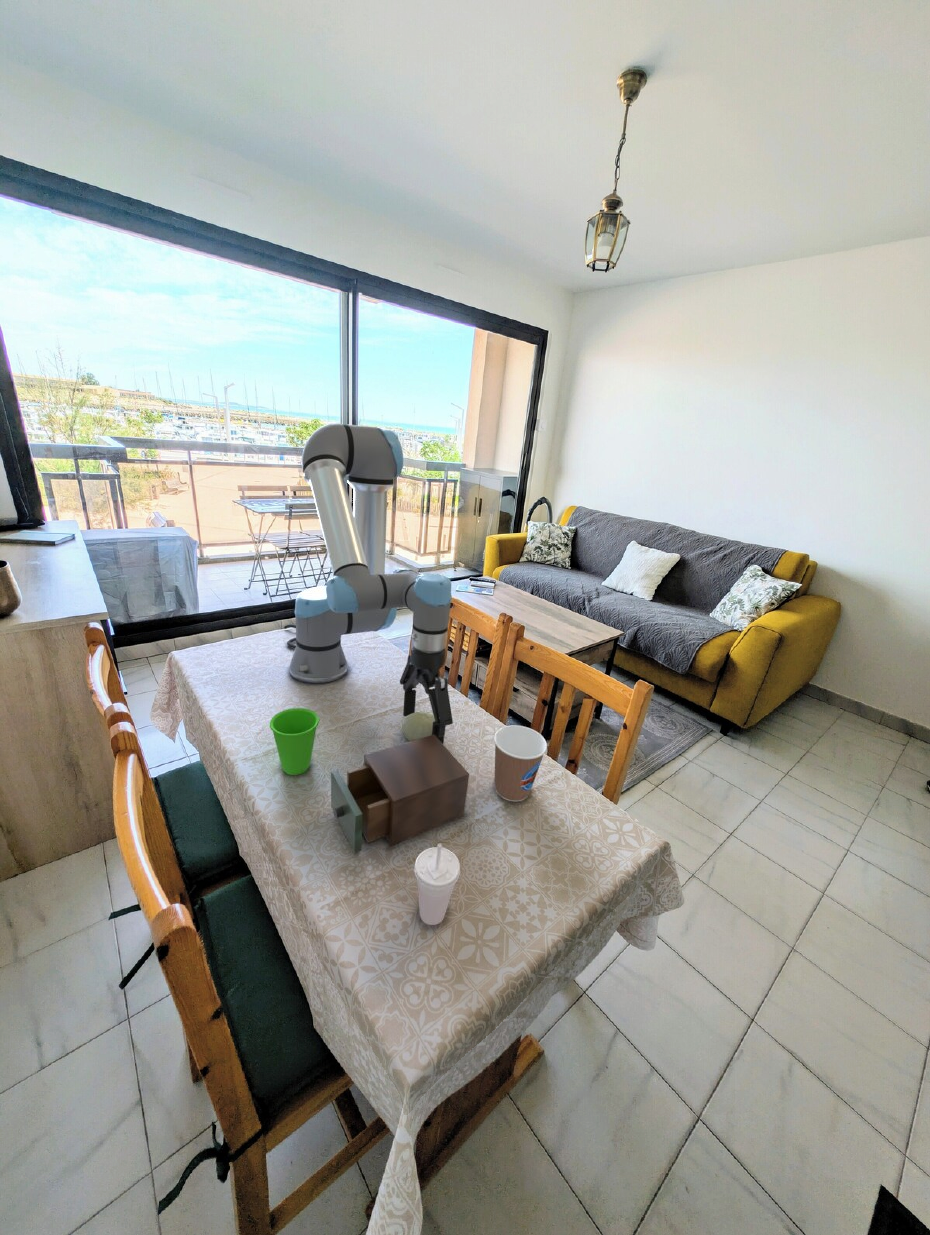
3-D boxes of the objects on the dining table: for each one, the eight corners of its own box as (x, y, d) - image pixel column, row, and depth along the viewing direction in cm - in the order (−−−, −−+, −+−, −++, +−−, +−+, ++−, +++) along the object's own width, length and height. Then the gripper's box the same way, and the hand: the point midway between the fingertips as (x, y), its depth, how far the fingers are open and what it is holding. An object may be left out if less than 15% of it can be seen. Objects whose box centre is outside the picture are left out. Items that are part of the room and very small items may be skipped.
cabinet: (390, 846, 79) (393, 801, 76) (362, 796, 89) (363, 754, 85) (463, 815, 87) (469, 773, 84) (430, 773, 97) (434, 734, 93)
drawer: (347, 856, 75) (347, 819, 73) (324, 808, 84) (324, 773, 81) (427, 823, 83) (431, 788, 81) (399, 782, 92) (401, 749, 89)
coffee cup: (524, 816, 89) (534, 765, 84) (477, 792, 93) (484, 742, 89) (544, 786, 97) (555, 738, 93) (500, 765, 102) (508, 718, 97)
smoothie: (405, 928, 67) (411, 856, 61) (416, 888, 73) (423, 819, 67) (449, 939, 66) (459, 866, 61) (457, 897, 72) (467, 828, 67)
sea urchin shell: (440, 743, 103) (417, 717, 102) (414, 759, 106) (391, 733, 105) (449, 721, 112) (428, 696, 110) (425, 735, 115) (404, 711, 113)
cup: (278, 788, 89) (276, 740, 85) (267, 759, 96) (264, 714, 92) (325, 773, 94) (325, 727, 90) (311, 747, 100) (311, 703, 96)
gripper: (388, 627, 108) (384, 706, 116) (443, 675, 89) (434, 766, 97) (417, 623, 112) (411, 700, 120) (475, 668, 93) (465, 756, 101)
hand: (422, 730), depth 108 cm, fingers open, 13 cm apart
